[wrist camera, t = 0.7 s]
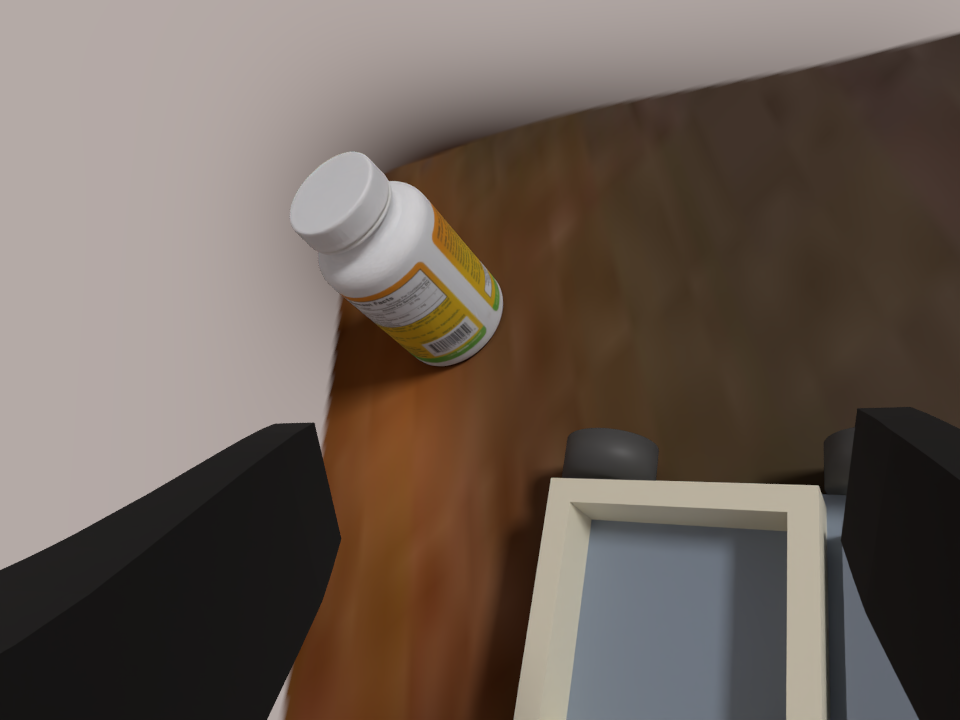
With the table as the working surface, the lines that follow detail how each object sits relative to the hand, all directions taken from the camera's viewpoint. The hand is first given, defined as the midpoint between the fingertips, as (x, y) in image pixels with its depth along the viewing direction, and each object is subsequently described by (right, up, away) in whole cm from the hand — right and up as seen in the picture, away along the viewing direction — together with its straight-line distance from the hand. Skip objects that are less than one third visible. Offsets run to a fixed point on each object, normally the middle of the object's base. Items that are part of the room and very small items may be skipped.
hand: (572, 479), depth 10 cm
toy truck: (+7, -7, +12) cm, 15 cm away
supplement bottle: (-2, +3, +25) cm, 25 cm away
